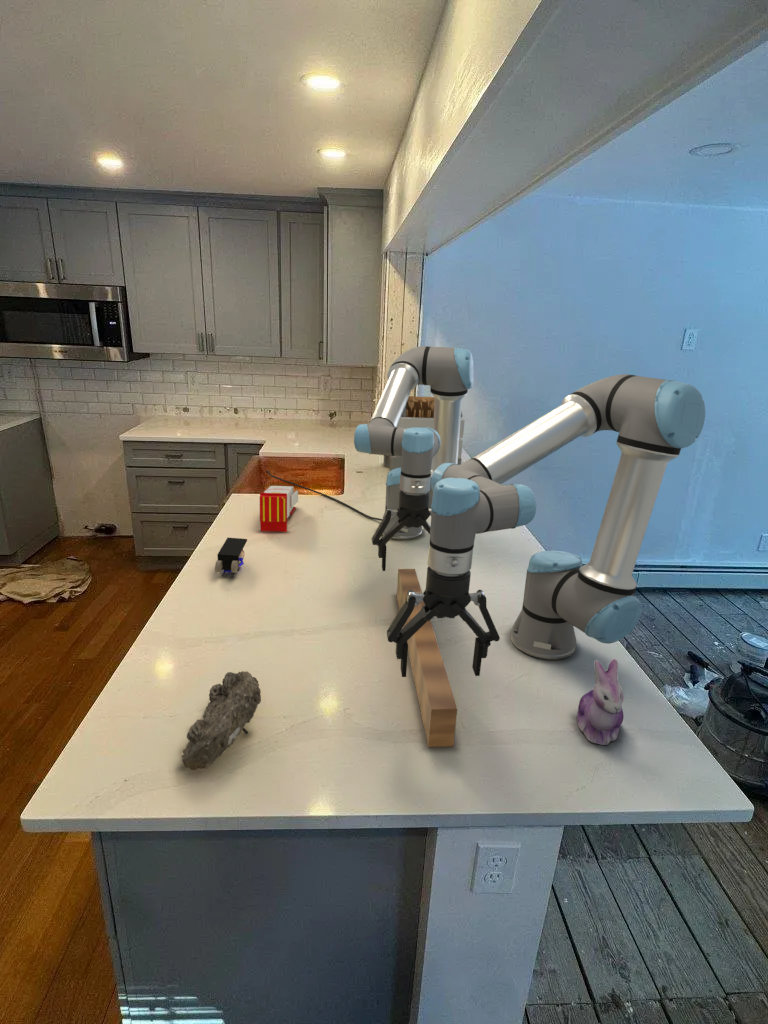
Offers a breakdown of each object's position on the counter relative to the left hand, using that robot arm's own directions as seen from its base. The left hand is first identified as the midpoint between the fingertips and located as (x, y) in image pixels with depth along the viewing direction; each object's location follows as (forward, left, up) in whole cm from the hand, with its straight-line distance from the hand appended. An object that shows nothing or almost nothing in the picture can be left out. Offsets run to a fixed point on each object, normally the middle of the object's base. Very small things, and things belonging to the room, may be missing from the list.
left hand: (409, 569), depth 147 cm
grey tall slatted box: (-93, +94, -11) cm, 132 cm away
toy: (-77, +7, -11) cm, 78 cm away
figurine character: (-47, -27, -11) cm, 55 cm away
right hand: (+37, -27, +1) cm, 45 cm away
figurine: (+57, -2, -11) cm, 58 cm away
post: (+18, -13, -11) cm, 25 cm away
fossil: (+14, -58, -11) cm, 61 cm away
